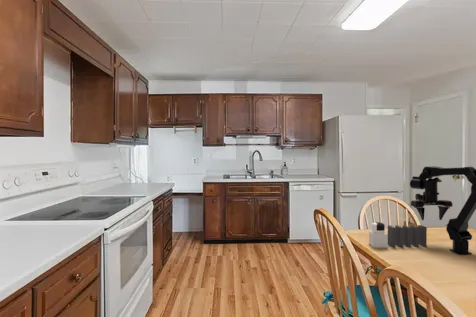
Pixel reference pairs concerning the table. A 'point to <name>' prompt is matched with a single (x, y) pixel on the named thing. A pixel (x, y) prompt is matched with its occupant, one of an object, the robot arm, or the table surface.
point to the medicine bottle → (378, 236)
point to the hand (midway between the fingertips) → (431, 219)
